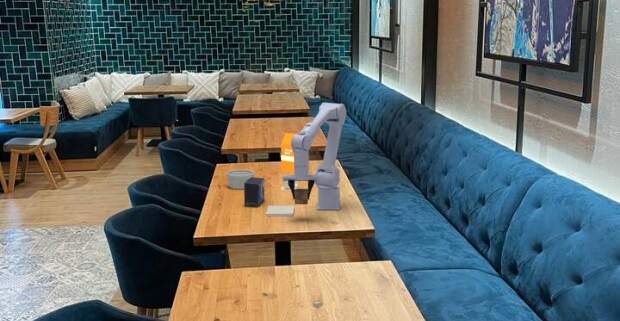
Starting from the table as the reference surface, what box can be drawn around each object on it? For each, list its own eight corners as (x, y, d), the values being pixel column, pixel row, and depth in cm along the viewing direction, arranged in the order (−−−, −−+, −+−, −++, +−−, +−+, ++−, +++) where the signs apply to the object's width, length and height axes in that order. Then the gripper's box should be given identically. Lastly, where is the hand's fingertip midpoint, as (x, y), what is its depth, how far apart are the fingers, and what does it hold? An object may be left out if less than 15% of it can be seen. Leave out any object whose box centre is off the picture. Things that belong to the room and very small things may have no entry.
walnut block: (307, 200, 236) (307, 188, 235) (307, 204, 231) (307, 192, 230) (295, 200, 236) (295, 188, 235) (294, 204, 231) (294, 192, 230)
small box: (258, 207, 251) (258, 183, 248) (243, 206, 252) (243, 182, 250) (265, 200, 261) (265, 177, 258) (251, 199, 262) (250, 176, 260)
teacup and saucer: (296, 186, 285) (296, 178, 284) (301, 190, 278) (301, 182, 277) (278, 188, 282) (278, 179, 282) (283, 192, 275) (283, 183, 274)
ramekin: (257, 183, 289) (257, 169, 288) (250, 190, 276) (250, 176, 275) (231, 182, 291) (231, 168, 290) (223, 189, 279) (222, 175, 277)
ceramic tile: (294, 208, 249) (294, 205, 249) (293, 216, 239) (293, 213, 239) (268, 208, 250) (268, 205, 250) (265, 216, 239) (265, 213, 239)
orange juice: (295, 173, 310) (294, 135, 306) (281, 170, 315) (280, 133, 310) (303, 170, 316) (303, 133, 312) (289, 168, 321) (289, 131, 317)
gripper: (281, 167, 227) (282, 201, 230) (319, 167, 226) (319, 201, 229) (283, 163, 234) (283, 196, 237) (319, 163, 233) (319, 196, 236)
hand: (301, 198), depth 233 cm, fingers closed on walnut block, 5 cm apart
